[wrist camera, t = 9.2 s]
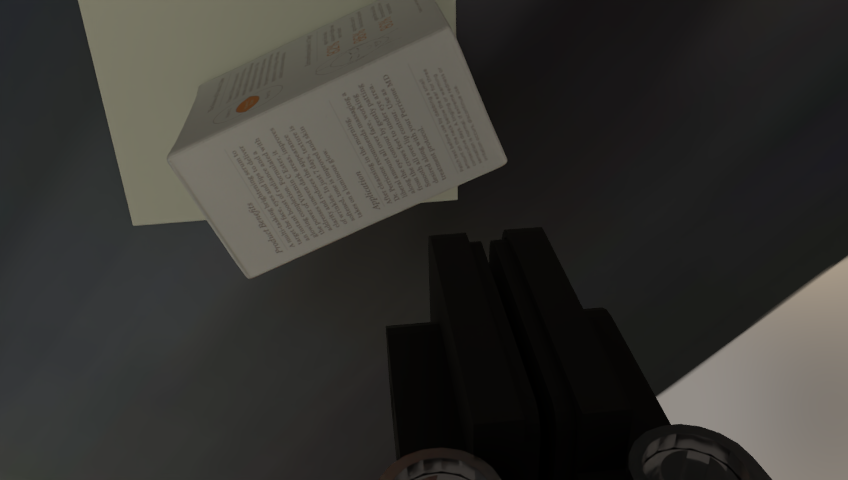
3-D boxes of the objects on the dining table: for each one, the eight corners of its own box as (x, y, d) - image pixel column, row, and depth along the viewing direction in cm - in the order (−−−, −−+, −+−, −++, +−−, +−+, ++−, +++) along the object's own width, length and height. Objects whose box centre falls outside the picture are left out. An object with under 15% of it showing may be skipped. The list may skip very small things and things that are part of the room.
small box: (473, 94, 34) (262, 191, 35) (423, -25, 31) (195, 84, 32) (511, 168, 27) (246, 286, 28) (450, 23, 24) (159, 160, 25)
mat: (452, -250, 28) (453, -251, 27) (456, 197, 36) (457, 199, 36) (22, -239, 26) (19, -239, 26) (134, 222, 35) (133, 225, 35)
